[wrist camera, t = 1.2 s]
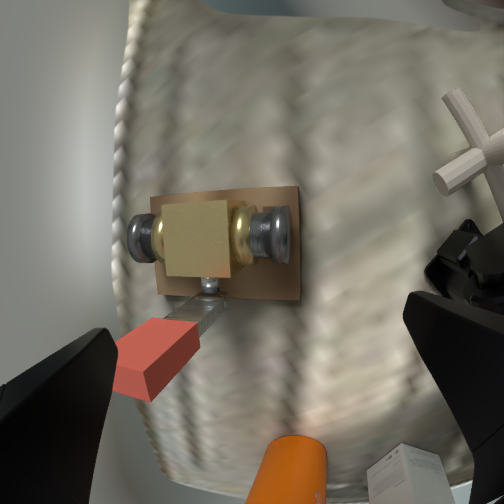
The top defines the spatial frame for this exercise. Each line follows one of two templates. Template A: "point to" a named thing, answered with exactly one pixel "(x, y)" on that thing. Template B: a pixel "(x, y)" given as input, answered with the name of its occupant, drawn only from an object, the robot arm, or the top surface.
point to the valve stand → (222, 242)
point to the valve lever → (164, 346)
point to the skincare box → (408, 478)
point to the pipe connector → (472, 153)
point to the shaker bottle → (291, 473)
